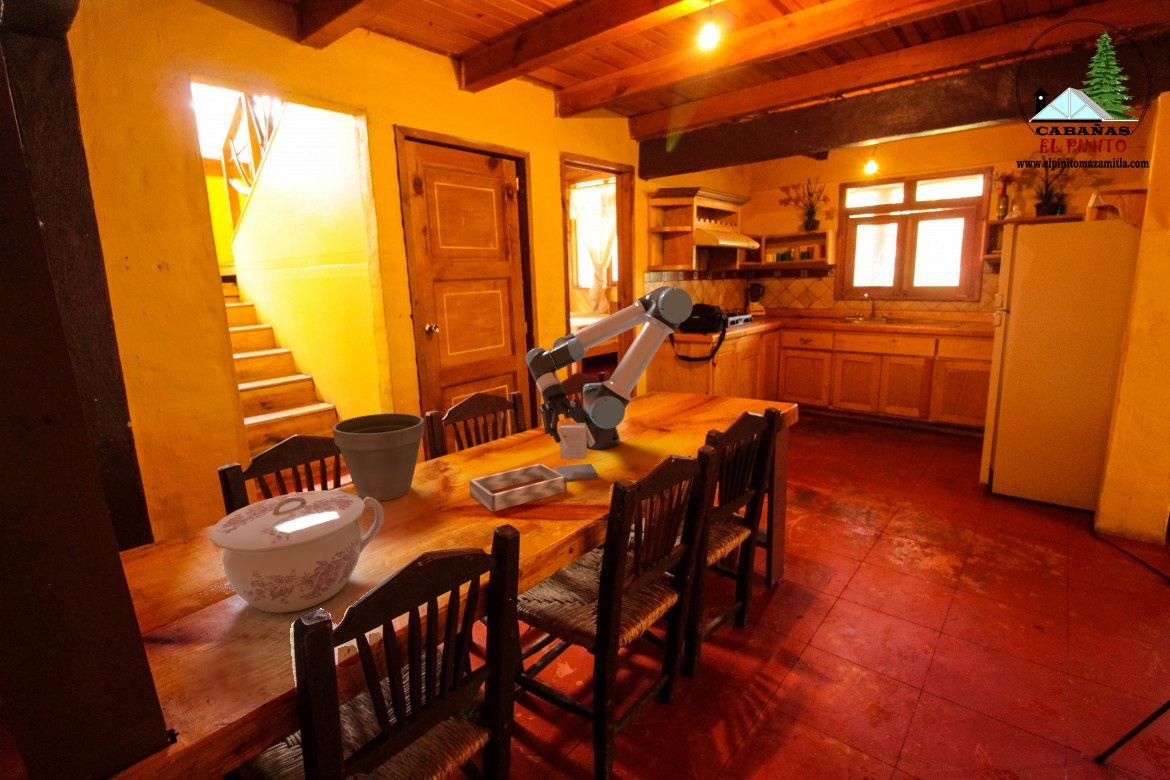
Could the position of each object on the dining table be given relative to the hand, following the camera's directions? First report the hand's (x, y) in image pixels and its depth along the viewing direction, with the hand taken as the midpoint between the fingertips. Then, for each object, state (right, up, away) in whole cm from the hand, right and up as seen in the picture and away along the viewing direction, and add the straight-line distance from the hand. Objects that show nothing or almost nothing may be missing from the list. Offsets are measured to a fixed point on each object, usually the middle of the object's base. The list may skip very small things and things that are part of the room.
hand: (579, 447), depth 173 cm
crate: (-17, -12, -11) cm, 24 cm away
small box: (-2, -3, +3) cm, 5 cm away
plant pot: (-58, -13, -8) cm, 59 cm away
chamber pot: (-56, -24, -60) cm, 85 cm away
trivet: (-1, -9, +4) cm, 10 cm away
